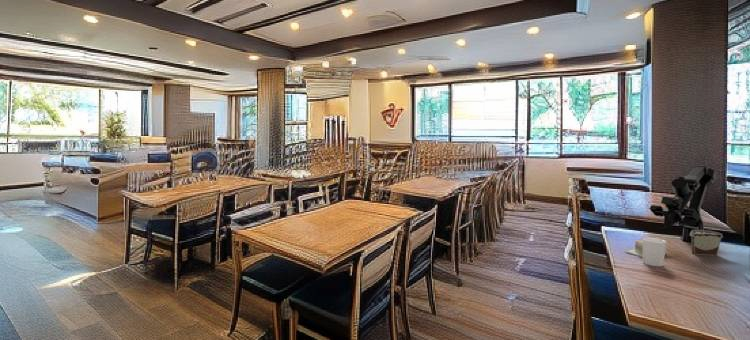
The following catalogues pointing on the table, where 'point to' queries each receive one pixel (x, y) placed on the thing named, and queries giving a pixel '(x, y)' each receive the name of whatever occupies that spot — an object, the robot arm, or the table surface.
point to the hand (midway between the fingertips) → (665, 227)
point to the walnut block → (639, 246)
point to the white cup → (654, 251)
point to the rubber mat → (635, 253)
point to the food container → (705, 242)
